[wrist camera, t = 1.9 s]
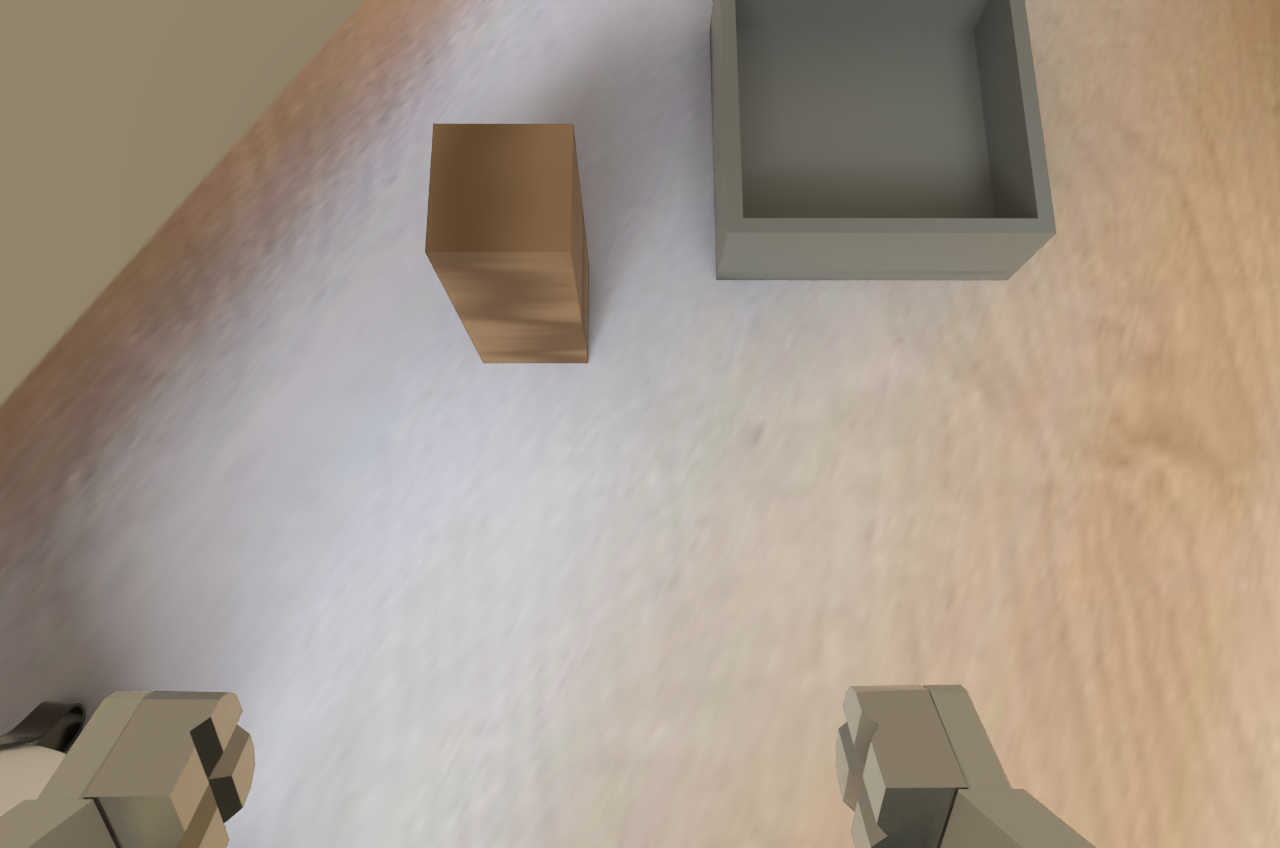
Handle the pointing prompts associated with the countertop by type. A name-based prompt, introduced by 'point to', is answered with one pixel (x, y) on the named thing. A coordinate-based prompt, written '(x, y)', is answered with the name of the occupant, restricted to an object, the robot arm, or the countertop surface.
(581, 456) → the countertop surface
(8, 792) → the coffee press
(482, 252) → the wooden block
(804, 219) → the box
